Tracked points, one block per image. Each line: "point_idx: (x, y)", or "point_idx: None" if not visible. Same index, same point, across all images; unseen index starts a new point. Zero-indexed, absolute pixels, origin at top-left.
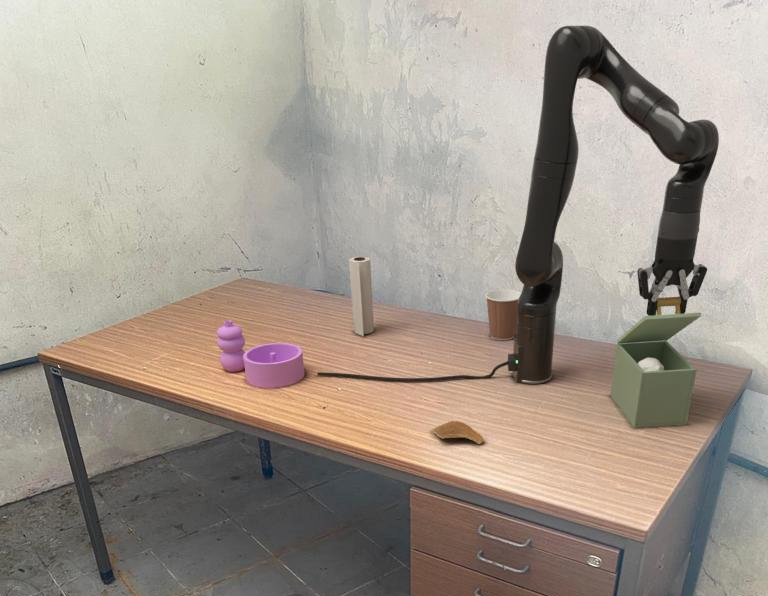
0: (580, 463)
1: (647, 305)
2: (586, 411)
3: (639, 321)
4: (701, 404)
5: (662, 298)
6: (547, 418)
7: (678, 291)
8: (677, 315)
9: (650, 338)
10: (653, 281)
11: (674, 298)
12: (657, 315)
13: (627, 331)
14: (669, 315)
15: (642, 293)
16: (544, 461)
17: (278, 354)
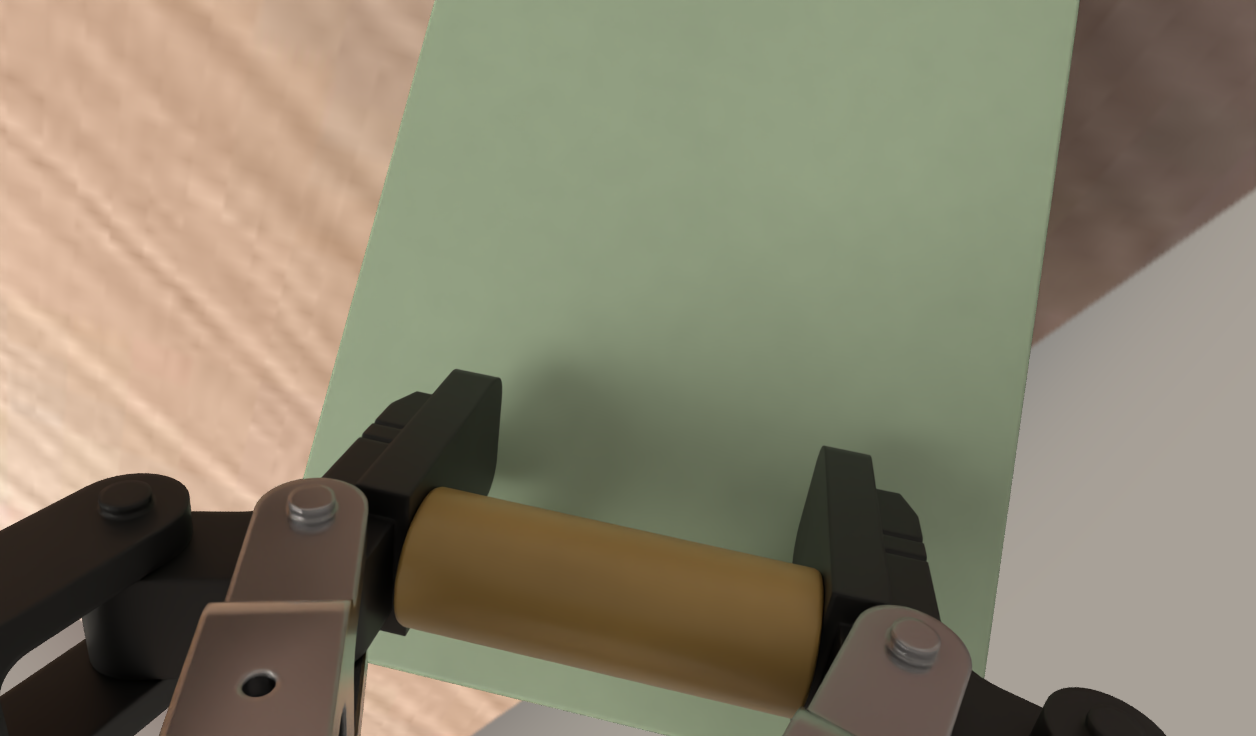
0: (252, 491)
1: (344, 458)
2: (407, 26)
3: (316, 439)
4: (1109, 148)
5: (487, 635)
6: (185, 49)
7: (830, 671)
8: (651, 730)
9: None
10: (186, 665)
11: (686, 691)
12: (406, 671)
13: (422, 46)
14: (552, 706)
15: (52, 668)
16: (125, 434)
17: None
